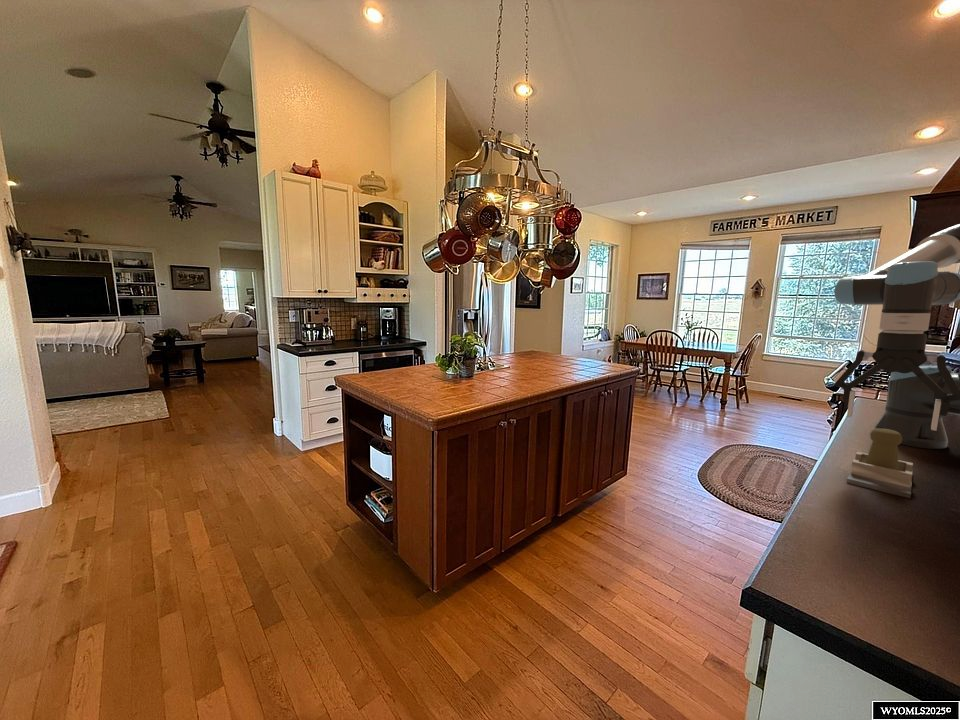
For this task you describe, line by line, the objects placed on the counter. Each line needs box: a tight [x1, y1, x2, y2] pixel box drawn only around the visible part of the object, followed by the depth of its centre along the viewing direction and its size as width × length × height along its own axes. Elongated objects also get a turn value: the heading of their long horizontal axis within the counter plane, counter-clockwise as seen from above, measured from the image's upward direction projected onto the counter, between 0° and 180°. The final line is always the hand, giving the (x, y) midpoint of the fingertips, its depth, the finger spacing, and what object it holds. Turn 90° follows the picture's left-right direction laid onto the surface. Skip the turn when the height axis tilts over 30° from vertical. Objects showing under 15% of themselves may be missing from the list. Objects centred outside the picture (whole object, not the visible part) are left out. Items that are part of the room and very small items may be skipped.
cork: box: [865, 428, 902, 471], centre depth 92 cm, size 6×6×11 cm
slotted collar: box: [846, 451, 914, 499], centre depth 92 cm, size 18×10×4 cm, turn 131°
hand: (889, 422), depth 91 cm, fingers open, 13 cm apart
